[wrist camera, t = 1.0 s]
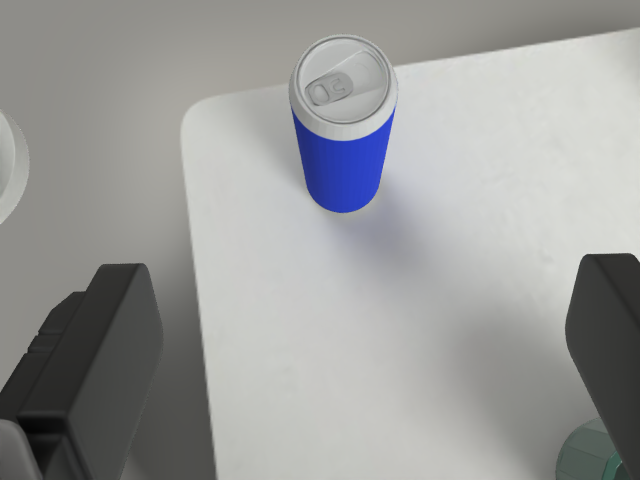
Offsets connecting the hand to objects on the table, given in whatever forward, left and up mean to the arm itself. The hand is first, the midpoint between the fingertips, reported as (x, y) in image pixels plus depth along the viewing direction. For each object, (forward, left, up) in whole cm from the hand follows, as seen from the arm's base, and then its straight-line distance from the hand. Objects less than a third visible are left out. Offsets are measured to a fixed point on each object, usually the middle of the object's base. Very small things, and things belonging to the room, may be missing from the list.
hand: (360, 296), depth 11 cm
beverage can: (0, +11, -29) cm, 31 cm away
